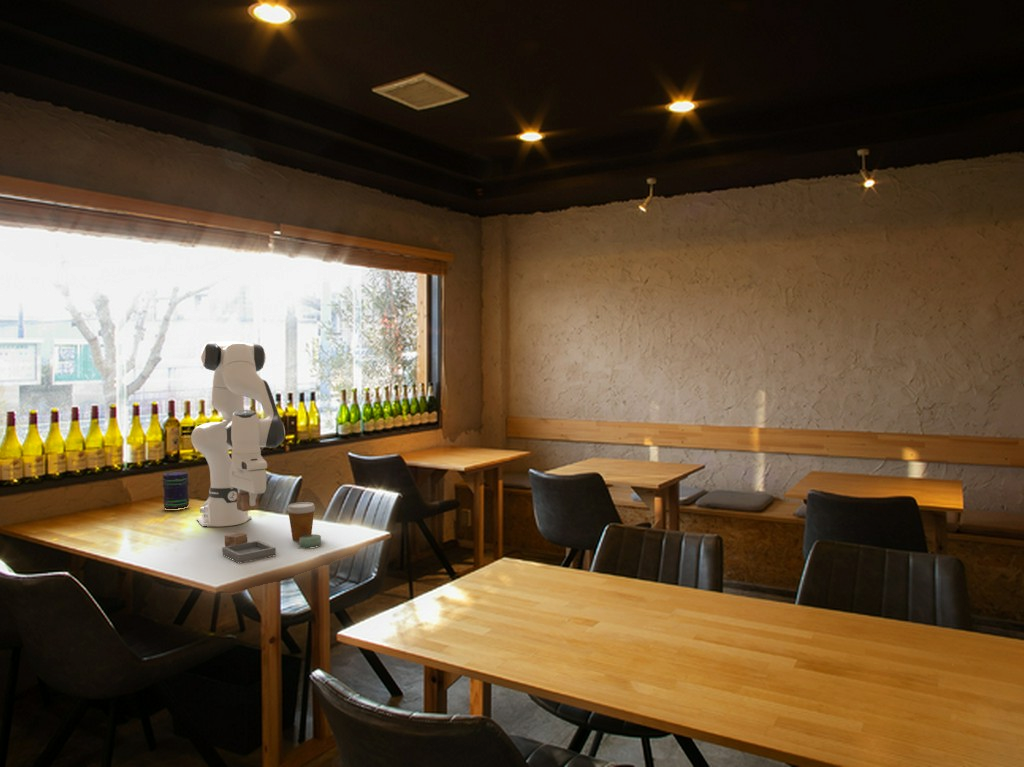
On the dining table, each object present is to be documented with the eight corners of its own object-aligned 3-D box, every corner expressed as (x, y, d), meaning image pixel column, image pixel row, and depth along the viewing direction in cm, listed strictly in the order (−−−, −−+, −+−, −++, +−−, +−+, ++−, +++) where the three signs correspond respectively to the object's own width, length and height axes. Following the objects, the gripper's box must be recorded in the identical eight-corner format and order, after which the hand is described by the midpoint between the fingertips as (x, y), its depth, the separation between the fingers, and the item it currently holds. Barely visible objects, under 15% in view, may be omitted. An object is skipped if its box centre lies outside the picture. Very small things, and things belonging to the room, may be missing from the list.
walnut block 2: (237, 509, 238) (236, 493, 238) (252, 506, 241) (251, 491, 241) (243, 511, 234) (243, 495, 234) (258, 509, 238) (258, 493, 237)
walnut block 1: (225, 550, 245) (224, 535, 245) (236, 546, 249) (236, 532, 249) (235, 552, 243) (235, 537, 242) (247, 548, 247) (247, 533, 247)
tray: (222, 554, 239) (222, 547, 239) (258, 547, 247) (258, 540, 247) (238, 563, 230) (238, 555, 230) (275, 555, 238) (275, 547, 238)
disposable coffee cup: (319, 535, 263) (319, 502, 262) (310, 542, 253) (309, 507, 253) (294, 535, 264) (293, 501, 263) (283, 542, 254) (282, 507, 254)
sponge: (296, 545, 250) (295, 537, 250) (315, 541, 255) (315, 533, 255) (305, 549, 245) (305, 541, 245) (324, 545, 250) (324, 537, 249)
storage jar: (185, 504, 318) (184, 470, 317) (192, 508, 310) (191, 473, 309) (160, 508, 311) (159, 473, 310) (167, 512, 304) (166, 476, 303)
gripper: (223, 459, 243) (225, 500, 243) (250, 465, 228) (251, 510, 228) (242, 457, 247) (243, 498, 248) (269, 463, 232) (270, 507, 233)
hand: (247, 504), depth 238 cm, fingers closed on walnut block 2, 5 cm apart
